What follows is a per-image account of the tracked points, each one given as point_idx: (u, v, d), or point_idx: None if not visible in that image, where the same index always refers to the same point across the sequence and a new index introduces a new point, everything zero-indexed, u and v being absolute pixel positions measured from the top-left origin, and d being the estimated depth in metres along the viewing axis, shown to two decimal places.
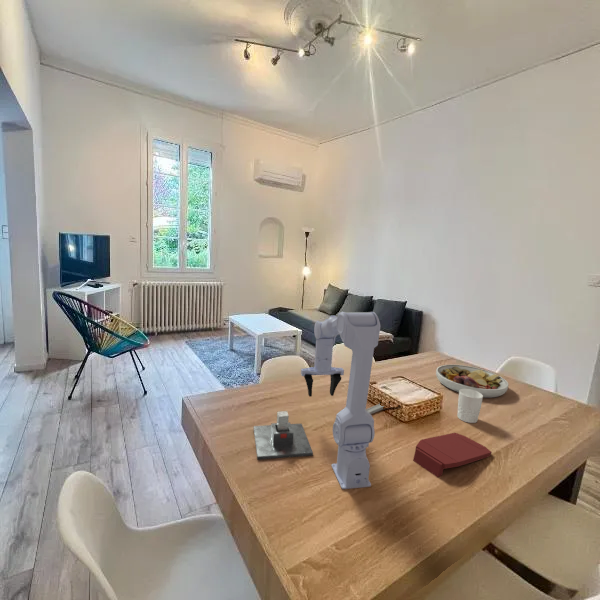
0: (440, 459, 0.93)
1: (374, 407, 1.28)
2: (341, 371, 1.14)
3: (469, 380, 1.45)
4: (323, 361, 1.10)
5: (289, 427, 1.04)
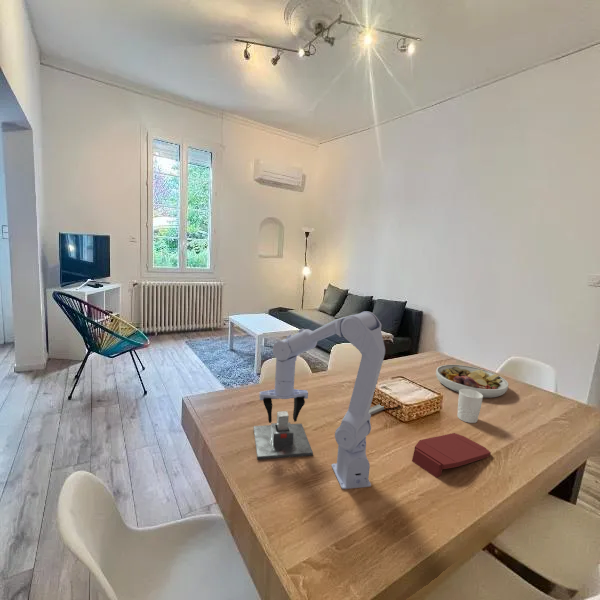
0: (439, 459, 0.93)
1: (374, 407, 1.27)
2: (304, 395, 1.02)
3: (469, 380, 1.45)
4: (283, 384, 0.98)
5: (289, 427, 1.04)
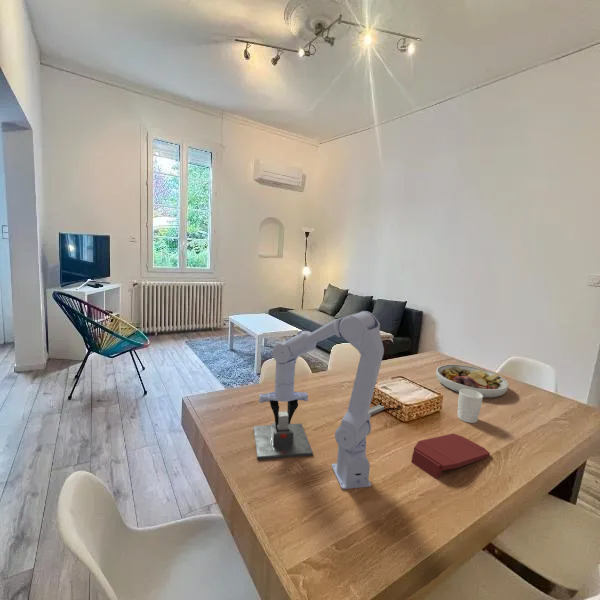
0: (438, 460, 0.93)
1: (374, 408, 1.27)
2: (304, 397, 1.02)
3: (469, 380, 1.45)
4: (283, 386, 0.98)
5: (289, 427, 1.04)
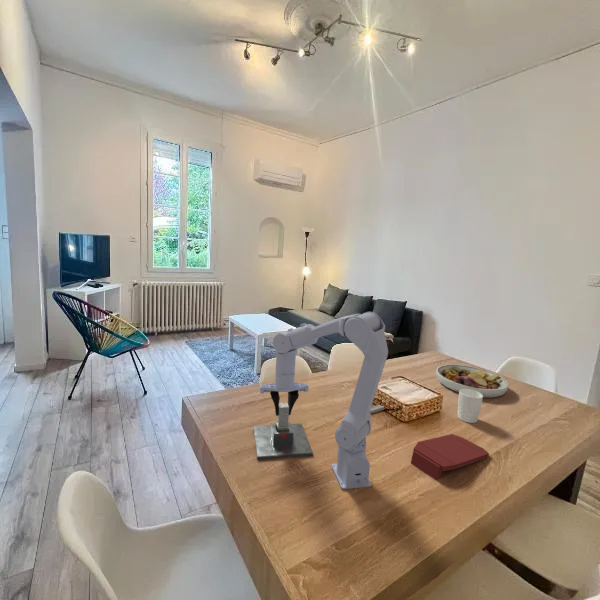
0: (438, 461, 0.92)
1: (373, 407, 1.27)
2: (305, 388, 1.01)
3: (469, 380, 1.45)
4: (284, 377, 0.97)
5: (289, 427, 1.04)
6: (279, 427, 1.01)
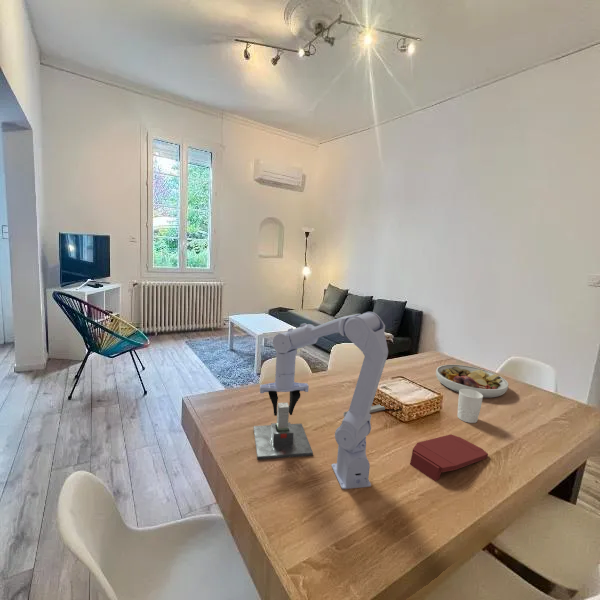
0: (437, 462, 0.92)
1: (371, 407, 1.28)
2: (305, 388, 1.01)
3: (469, 380, 1.45)
4: (284, 377, 0.97)
5: (289, 427, 1.04)
6: (279, 427, 1.01)
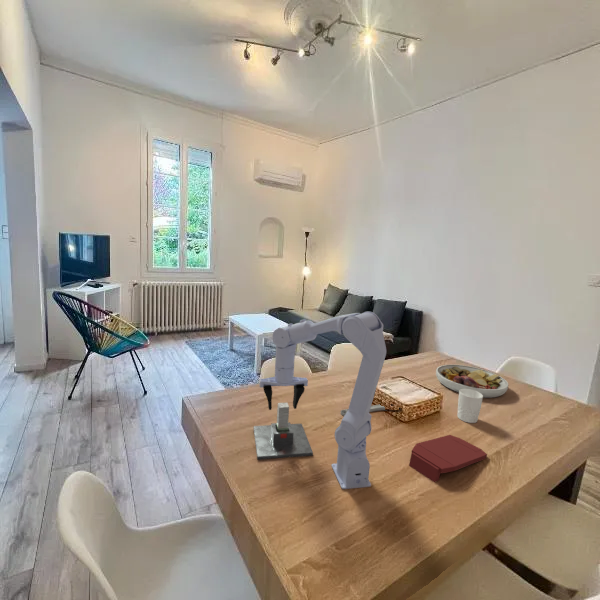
0: (437, 463, 0.91)
1: None
2: (304, 382, 1.02)
3: (469, 380, 1.45)
4: (283, 371, 0.99)
5: (289, 427, 1.04)
6: (279, 427, 1.01)
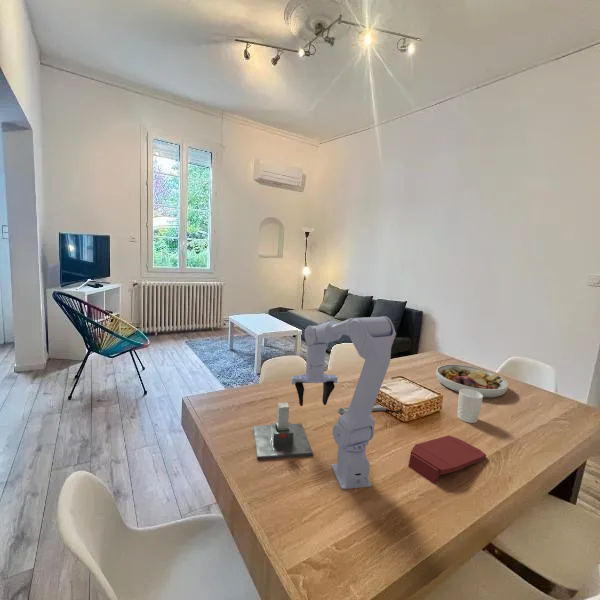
0: (436, 465, 0.91)
1: None
2: (334, 379, 1.06)
3: (469, 380, 1.45)
4: (315, 368, 1.02)
5: (289, 427, 1.04)
6: (279, 427, 1.01)
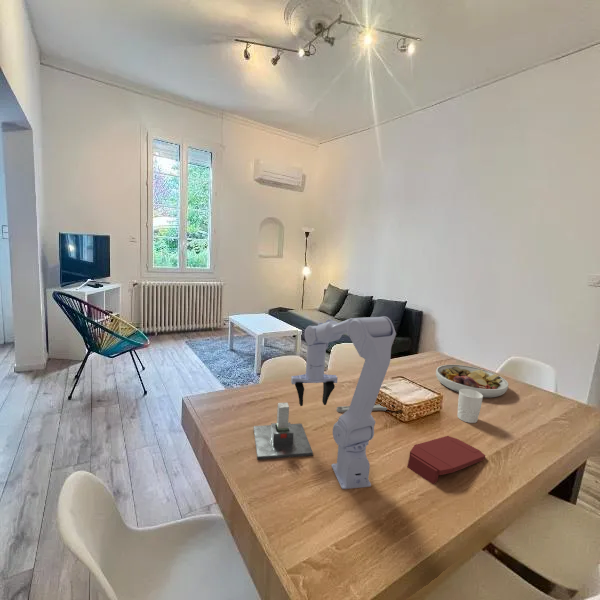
0: (435, 465, 0.91)
1: None
2: (334, 379, 1.06)
3: (469, 380, 1.45)
4: (315, 368, 1.02)
5: (289, 427, 1.04)
6: (279, 427, 1.01)
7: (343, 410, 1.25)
